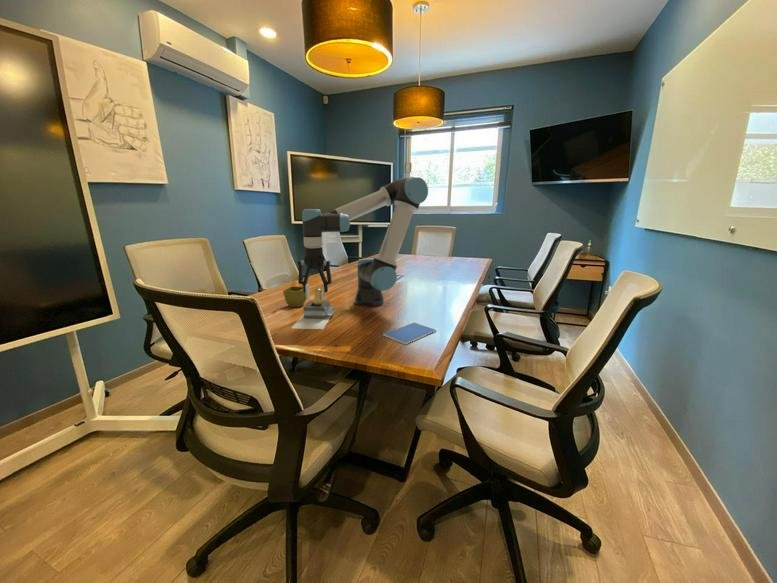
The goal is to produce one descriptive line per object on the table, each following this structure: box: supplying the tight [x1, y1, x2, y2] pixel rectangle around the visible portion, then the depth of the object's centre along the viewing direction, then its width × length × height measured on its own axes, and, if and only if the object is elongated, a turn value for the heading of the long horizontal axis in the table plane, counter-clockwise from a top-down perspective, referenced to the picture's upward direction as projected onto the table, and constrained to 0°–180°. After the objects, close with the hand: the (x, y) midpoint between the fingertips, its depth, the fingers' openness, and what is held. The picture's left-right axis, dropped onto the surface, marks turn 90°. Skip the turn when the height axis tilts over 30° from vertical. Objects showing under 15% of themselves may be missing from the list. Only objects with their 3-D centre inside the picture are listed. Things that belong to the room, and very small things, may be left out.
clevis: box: [303, 300, 336, 319], centre depth 143 cm, size 12×10×5 cm
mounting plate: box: [291, 313, 333, 330], centre depth 139 cm, size 13×22×2 cm, turn 178°
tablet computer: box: [382, 322, 437, 345], centre depth 128 cm, size 19×13×1 cm, turn 135°
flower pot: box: [282, 285, 307, 308], centre depth 160 cm, size 9×9×9 cm
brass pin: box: [313, 287, 323, 306], centre depth 142 cm, size 3×3×12 cm
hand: (316, 299), depth 141 cm, fingers open, 7 cm apart
